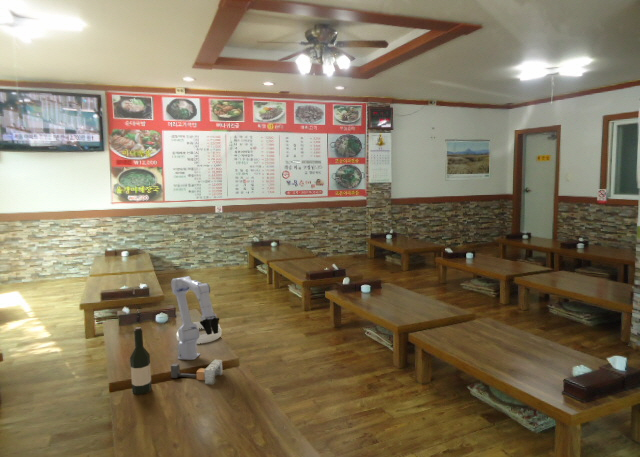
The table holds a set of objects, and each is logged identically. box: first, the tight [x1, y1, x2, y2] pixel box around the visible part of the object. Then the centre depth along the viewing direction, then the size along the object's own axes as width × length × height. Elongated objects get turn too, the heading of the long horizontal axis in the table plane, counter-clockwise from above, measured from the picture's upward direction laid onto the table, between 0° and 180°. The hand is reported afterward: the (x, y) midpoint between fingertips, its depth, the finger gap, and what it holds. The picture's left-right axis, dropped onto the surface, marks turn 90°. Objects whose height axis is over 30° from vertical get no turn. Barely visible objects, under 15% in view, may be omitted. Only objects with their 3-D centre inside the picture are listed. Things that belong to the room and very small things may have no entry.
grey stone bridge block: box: [204, 359, 224, 385], centre depth 219 cm, size 4×12×7 cm, turn 171°
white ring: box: [176, 321, 223, 345], centre depth 279 cm, size 27×27×6 cm
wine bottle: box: [129, 326, 153, 396], centre depth 207 cm, size 8×8×30 cm
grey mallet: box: [170, 363, 206, 381], centre depth 221 cm, size 19×4×6 cm, turn 81°
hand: (212, 333), depth 223 cm, fingers open, 7 cm apart
